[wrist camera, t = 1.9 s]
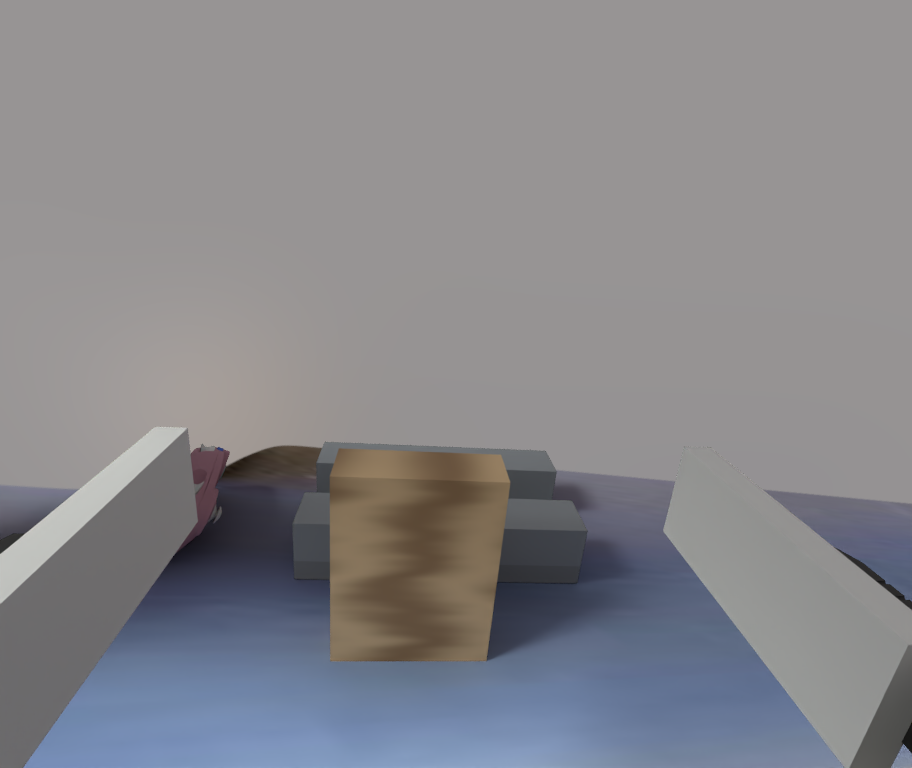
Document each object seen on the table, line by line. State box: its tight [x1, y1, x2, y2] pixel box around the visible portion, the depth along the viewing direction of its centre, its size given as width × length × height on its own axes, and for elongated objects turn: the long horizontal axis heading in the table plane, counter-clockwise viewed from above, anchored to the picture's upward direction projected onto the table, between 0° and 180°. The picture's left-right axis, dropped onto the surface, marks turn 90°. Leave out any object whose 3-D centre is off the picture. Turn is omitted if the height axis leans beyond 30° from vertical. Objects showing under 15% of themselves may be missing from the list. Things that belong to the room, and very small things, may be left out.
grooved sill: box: [292, 442, 588, 583], centre depth 40 cm, size 20×12×4 cm, turn 94°
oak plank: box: [330, 448, 510, 661], centre depth 28 cm, size 9×3×12 cm, turn 94°
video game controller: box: [176, 444, 230, 553], centre depth 38 cm, size 10×5×7 cm, turn 17°
